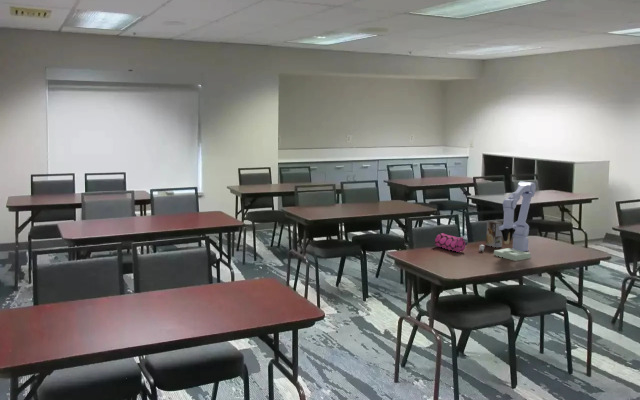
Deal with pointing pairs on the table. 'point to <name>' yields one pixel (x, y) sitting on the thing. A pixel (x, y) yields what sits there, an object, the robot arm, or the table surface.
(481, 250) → the short pin
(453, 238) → the pink foam roller
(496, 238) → the coffee box
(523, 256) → the board
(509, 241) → the long pin
